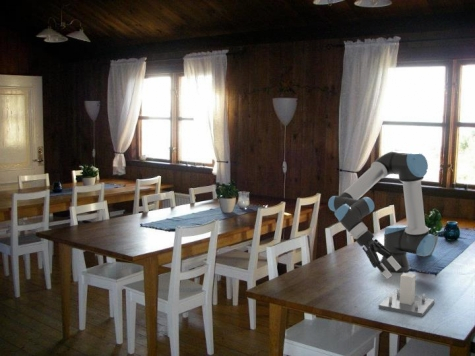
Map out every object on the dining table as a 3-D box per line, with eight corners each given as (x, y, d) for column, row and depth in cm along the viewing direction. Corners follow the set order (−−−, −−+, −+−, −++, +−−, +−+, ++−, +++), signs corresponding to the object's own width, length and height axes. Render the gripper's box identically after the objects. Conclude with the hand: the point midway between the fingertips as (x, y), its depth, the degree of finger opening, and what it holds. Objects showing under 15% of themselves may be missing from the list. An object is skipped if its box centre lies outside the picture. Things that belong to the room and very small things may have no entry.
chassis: (393, 295, 245) (393, 285, 245) (434, 302, 235) (434, 292, 235) (378, 308, 229) (379, 298, 228) (422, 317, 219) (422, 306, 218)
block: (402, 299, 235) (403, 272, 234) (414, 301, 233) (415, 274, 231) (399, 302, 231) (400, 275, 230) (411, 304, 229) (412, 277, 227)
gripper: (365, 234, 252) (396, 270, 245) (345, 245, 231) (378, 285, 225) (377, 224, 248) (408, 261, 242) (357, 235, 227) (392, 275, 221)
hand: (394, 273), depth 233 cm, fingers open, 13 cm apart
